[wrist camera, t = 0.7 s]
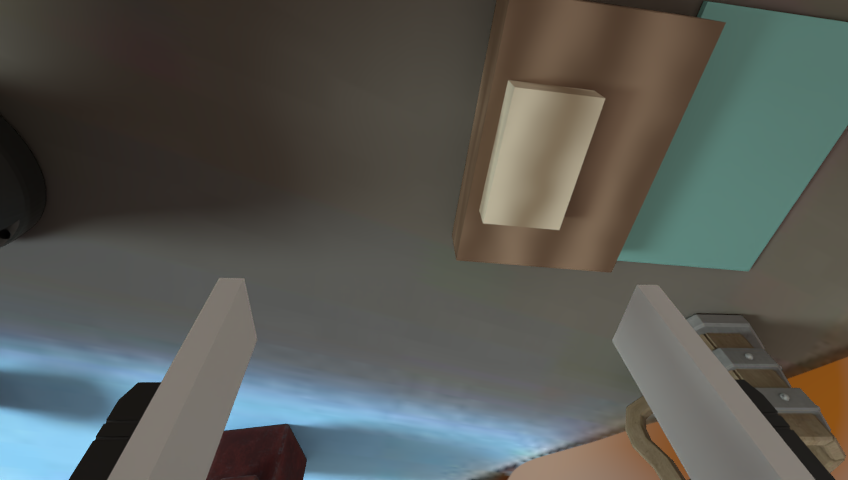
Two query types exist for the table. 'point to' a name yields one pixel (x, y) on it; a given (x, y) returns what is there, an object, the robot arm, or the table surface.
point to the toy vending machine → (258, 455)
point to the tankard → (755, 366)
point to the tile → (538, 153)
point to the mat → (745, 139)
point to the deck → (615, 130)
